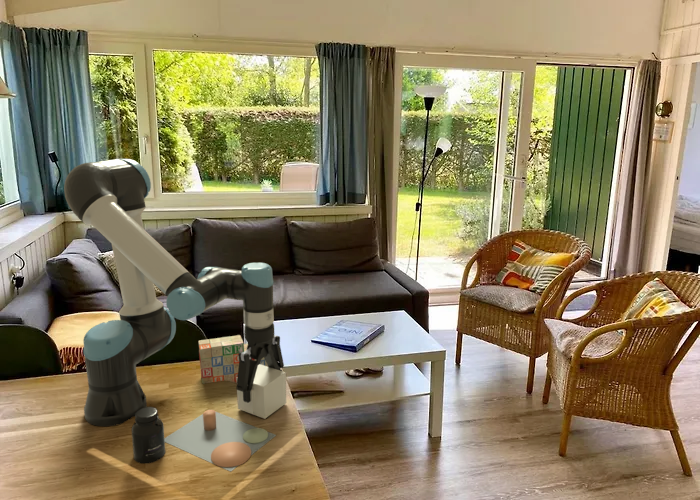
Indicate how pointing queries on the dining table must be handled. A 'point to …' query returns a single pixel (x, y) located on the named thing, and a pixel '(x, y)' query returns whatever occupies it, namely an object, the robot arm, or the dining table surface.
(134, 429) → the supplement bottle
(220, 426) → the board
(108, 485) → the dining table surface
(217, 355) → the stack of blocks
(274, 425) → the dining table surface
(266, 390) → the plain off-white box
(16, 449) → the dining table surface
